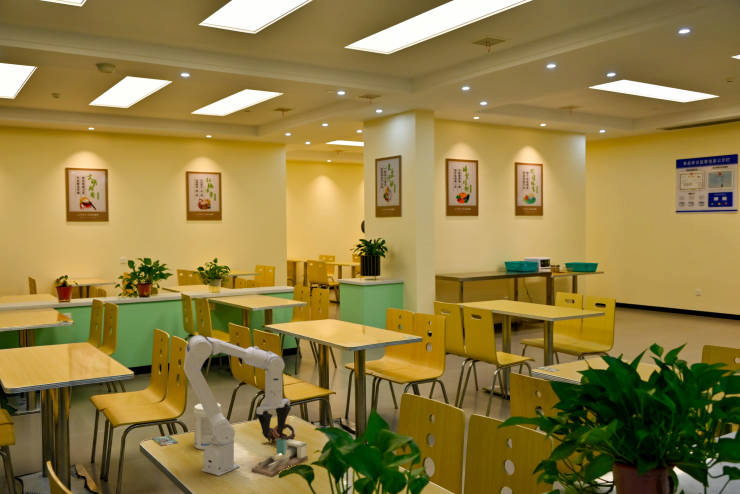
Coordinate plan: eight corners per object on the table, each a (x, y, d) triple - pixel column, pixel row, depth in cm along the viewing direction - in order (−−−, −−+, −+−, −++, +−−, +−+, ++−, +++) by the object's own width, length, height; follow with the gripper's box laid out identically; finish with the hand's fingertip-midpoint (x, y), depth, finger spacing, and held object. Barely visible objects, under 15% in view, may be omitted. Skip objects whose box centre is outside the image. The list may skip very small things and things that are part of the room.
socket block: (300, 458, 213) (300, 445, 213) (283, 454, 217) (283, 441, 217) (306, 456, 216) (306, 442, 216) (289, 452, 220) (289, 439, 220)
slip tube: (277, 465, 207) (277, 443, 207) (270, 463, 208) (270, 441, 208) (300, 454, 217) (300, 433, 217) (293, 453, 219) (293, 431, 218)
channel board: (271, 477, 200) (271, 467, 200) (251, 471, 204) (251, 462, 204) (307, 459, 216) (307, 450, 216) (288, 454, 220) (288, 446, 220)
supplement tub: (227, 444, 231) (227, 403, 231) (210, 452, 222) (210, 410, 222) (205, 440, 235) (205, 400, 235) (188, 448, 226) (188, 407, 226)
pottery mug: (293, 439, 238) (298, 423, 234) (289, 458, 230) (294, 442, 226) (262, 432, 237) (266, 416, 233) (256, 451, 229) (261, 434, 225)
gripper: (268, 396, 205) (267, 438, 205) (296, 387, 217) (296, 427, 217) (251, 393, 209) (251, 434, 209) (281, 384, 221) (280, 423, 221)
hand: (273, 430), depth 214 cm, fingers open, 7 cm apart
